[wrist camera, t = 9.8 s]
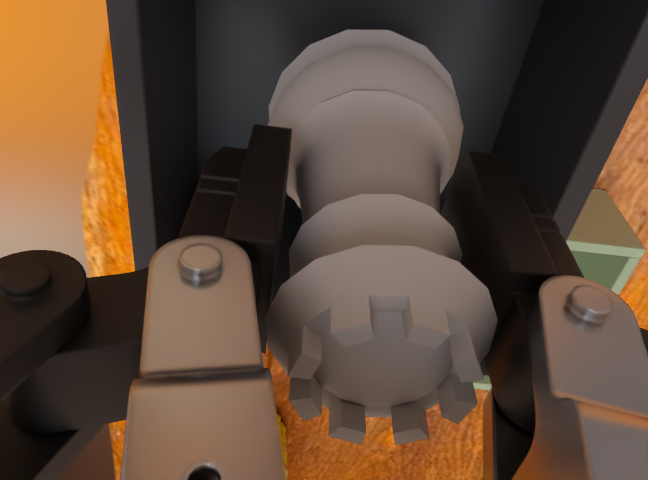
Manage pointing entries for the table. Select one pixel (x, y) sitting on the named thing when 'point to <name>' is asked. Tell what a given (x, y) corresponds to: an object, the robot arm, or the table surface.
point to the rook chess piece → (375, 240)
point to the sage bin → (600, 248)
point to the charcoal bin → (371, 14)
